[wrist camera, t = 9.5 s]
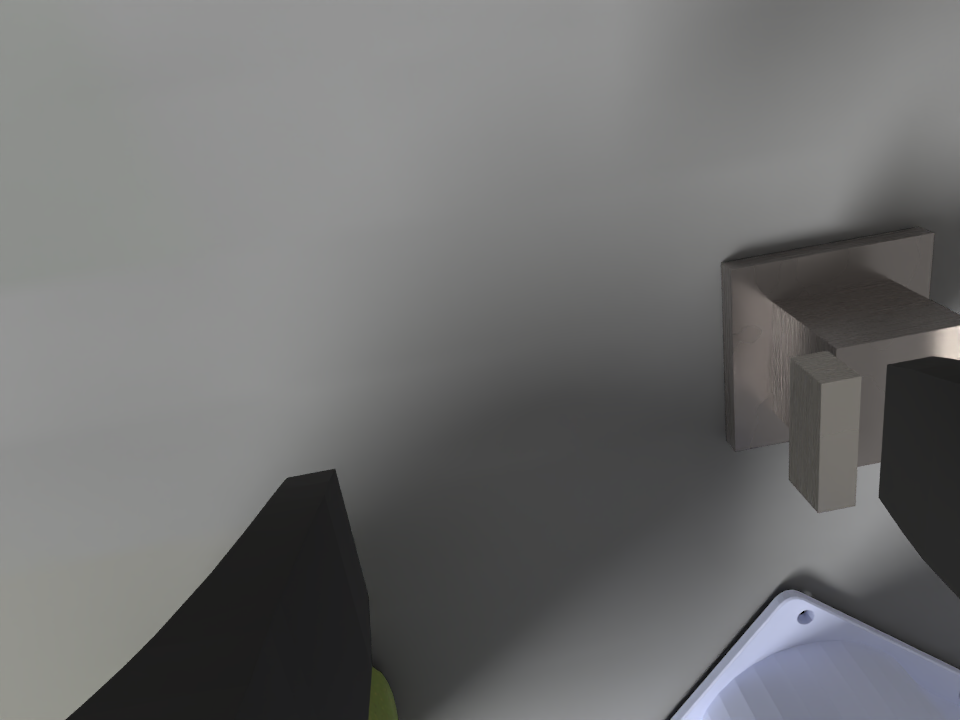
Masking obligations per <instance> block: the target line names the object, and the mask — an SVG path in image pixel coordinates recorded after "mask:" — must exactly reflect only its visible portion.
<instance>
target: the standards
mask: <svg viewBox="0 0 960 720" xmlns="http://www.w3.org/2000/svg"><path fill="white" fill-rule="evenodd" d="M933 244H934V233H933V232H931V231H928V230H926V229H923V228H921V227H916V228H910V229H905V230H899V231H894V232H888V233H883V234H877V235H872V236H866V237H861V238H855V239H850V240H844V241H838V242H833V243H827V244H822V245H816V246H811V247H805V248H800V249H794V250H789V251H783V252H778V253H772V254H767V255H761V256H756V257H750V258H745V259H739V260H734V261H728V262H723V263H721V273H722V308H723V343H724V377H725V412H726V441H727V442H728V443H729V444H730V446H731V447H732V448H733V449H734V451H735V452H736V451H742V450H747V449H752V448H757V447H762V446H768V445H773V444H778V443H783V442H788V441H789V481H790V482H791V483H792V484H793V485H794V486H795V487H796V489H797V490H798V491H799V492H800V493H801V494H802V495H803V497H804V498H805V499H806V500H807V501H808V502H809V503H810V505H811V506H812V507H813V508H814V509H815V510H816V511H817V512H818V513H822V512H827V511H832V510H837V509H842V508H847V507H852V506H855V503H856V483H857V467H859V466H864V465H869V464H874V463H879V462H881V452H882V436H883V419H884V403H885V387H886V371H887V365H888V364H893V363H898V362H904V361H909V360H914V359H920V358H925V357H930V356H936V357H944V358H951V359H957V360H960V315H959V314H957V313H955V312H953V311H951V310H949V309H947V308H945V307H943V306H941V305H939V304H938V303H936V302H934V301H932V300H930V299H929V293H930V281H931V269H932V256H933Z"/></svg>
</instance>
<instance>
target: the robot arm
mask: <svg viewBox="0 0 960 720" xmlns="http://www.w3.org/2000/svg"><path fill="white" fill-rule="evenodd" d="M879 499H880V500H881V502H882V503H883V504H884V506H885V507H886V509H887V510H888V512H889V513H890V515H891V516H892V518H893V519H894V520H895V522H896V523H897V525H898V526H899V528H900V529H901V531H902V532H903V533H904V535H905V536H906V537H907V539H908V540H909V541H910V543H911V544H912V545H913V547H914V548H915V549H916V551H917V552H918V553H919V555H920V556H921V557H922V559H923V560H924V561H925V562H926V563H927V564H928V565H929V566H930V568H931V569H932V570H933V571H934V572H935V573H936V574H937V575H938V576H939V577H940V578H941V579H942V580H943V582H944V583H945V584H946V585H947V586H948V587H949V588H950V589H951V590H952V591H953V592H954V593H955V594H956V595H957V596H958V597H959V599H960V360H957V359H951V358H944V357H936V356H930V357H925V358H920V359H914V360H909V361H904V362H898V363H893V364H888V365H887V371H886V387H885V403H884V419H883V436H882V452H881V468H880V484H879ZM806 610H807V611H806ZM803 611H806V612H805V613H803V614H801V615H799V614H800V613H801V612H803ZM371 677H372V655H371V631H370V612H369V597H368V593H367V589H366V585H365V581H364V577H363V574H362V570H361V566H360V562H359V558H358V555H357V551H356V547H355V543H354V539H353V535H352V532H351V528H350V524H349V520H348V516H347V512H346V509H345V505H344V501H343V497H342V493H341V490H340V486H339V482H338V478H337V474H336V470H335V469H332V470H326V471H321V472H316V473H310V474H305V475H300V476H295V477H289V478H287V479H286V480H285V481H284V482H283V483H282V484H281V486H280V487H279V488H278V489H277V491H276V492H275V493H274V494H273V496H272V497H271V498H270V500H269V501H268V502H267V503H266V505H265V506H264V507H263V509H262V510H261V511H260V513H259V514H258V515H257V516H256V518H255V519H254V520H253V522H252V523H251V524H250V525H249V527H248V528H247V529H246V531H245V532H244V533H243V534H242V536H241V537H240V538H239V539H238V540H237V542H236V543H235V544H234V545H233V547H232V548H231V549H230V550H229V552H228V553H227V554H226V555H225V557H224V558H223V559H222V560H221V561H220V563H219V564H218V565H217V566H216V568H215V569H214V570H213V571H212V573H211V574H210V575H209V576H208V577H207V578H206V579H205V581H204V582H203V583H202V584H201V585H200V586H199V587H198V588H197V589H196V591H195V592H194V593H193V594H192V595H191V596H190V597H189V598H188V599H187V600H186V602H185V603H184V604H183V605H182V606H181V607H180V608H179V609H178V610H177V612H176V613H175V614H174V615H173V616H172V617H171V618H170V619H169V620H168V622H167V623H166V624H165V625H164V626H163V627H162V628H161V629H160V630H159V632H158V633H157V634H156V635H155V636H154V637H153V638H152V639H151V640H150V641H149V642H148V643H147V644H146V645H145V646H144V647H143V648H142V649H141V650H140V651H139V652H138V653H137V654H136V655H135V656H134V657H133V658H132V659H131V660H130V661H129V662H128V663H127V664H126V665H125V666H124V667H123V668H122V669H121V670H120V671H119V672H117V673H116V674H115V675H114V676H113V677H112V678H111V679H110V680H109V681H108V682H107V683H106V684H104V685H103V686H102V687H101V688H100V689H99V690H98V691H97V692H96V693H95V694H94V695H93V696H92V697H90V698H89V699H88V700H87V701H86V702H85V703H84V704H83V705H82V706H81V707H79V708H78V709H77V710H76V711H75V712H74V713H73V714H71V715H70V716H69V717H68V718H67V719H66V720H368V718H369V705H370V691H371ZM670 720H960V670H959V669H957V668H955V667H953V666H951V665H949V664H947V663H945V662H943V661H941V660H939V659H937V658H935V657H933V656H931V655H929V654H926V653H924V652H922V651H920V650H918V649H916V648H914V647H912V646H910V645H908V644H906V643H904V642H902V641H900V640H898V639H896V638H894V637H892V636H890V635H888V634H886V633H883V632H881V631H879V630H877V629H875V628H873V627H871V626H869V625H867V624H865V623H863V622H861V621H859V620H857V619H855V618H853V617H851V616H849V615H847V614H845V613H842V612H840V611H838V610H836V609H834V608H832V607H830V606H828V605H826V604H824V603H822V602H820V601H818V600H816V599H814V598H812V597H810V596H808V595H806V594H804V593H801V592H799V591H796V590H786V591H784V592H781V593H780V594H778V595H777V596H776V597H775V598H774V599H773V601H772V602H771V603H770V604H769V605H768V606H767V608H766V609H765V610H764V611H763V612H762V613H761V615H760V616H759V617H758V618H757V619H756V620H755V622H754V623H753V624H752V625H751V626H750V627H749V629H748V630H747V631H746V632H745V633H744V634H743V636H742V637H741V638H740V639H739V640H738V641H737V643H736V644H735V645H734V646H733V647H732V648H731V650H730V651H729V652H728V653H727V654H726V655H725V657H724V658H723V659H722V660H721V661H720V662H719V664H718V665H717V666H716V667H715V668H714V669H713V671H712V672H711V673H710V674H709V675H708V676H707V677H706V679H705V680H704V681H703V682H702V683H701V684H700V686H699V687H698V688H697V689H696V690H695V691H694V693H693V694H692V695H691V696H690V697H689V698H688V700H687V701H686V702H685V703H684V704H683V705H682V707H681V708H680V709H679V710H678V711H677V712H676V714H675V715H674V716H673V717H672V718H671V719H670Z"/></svg>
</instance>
